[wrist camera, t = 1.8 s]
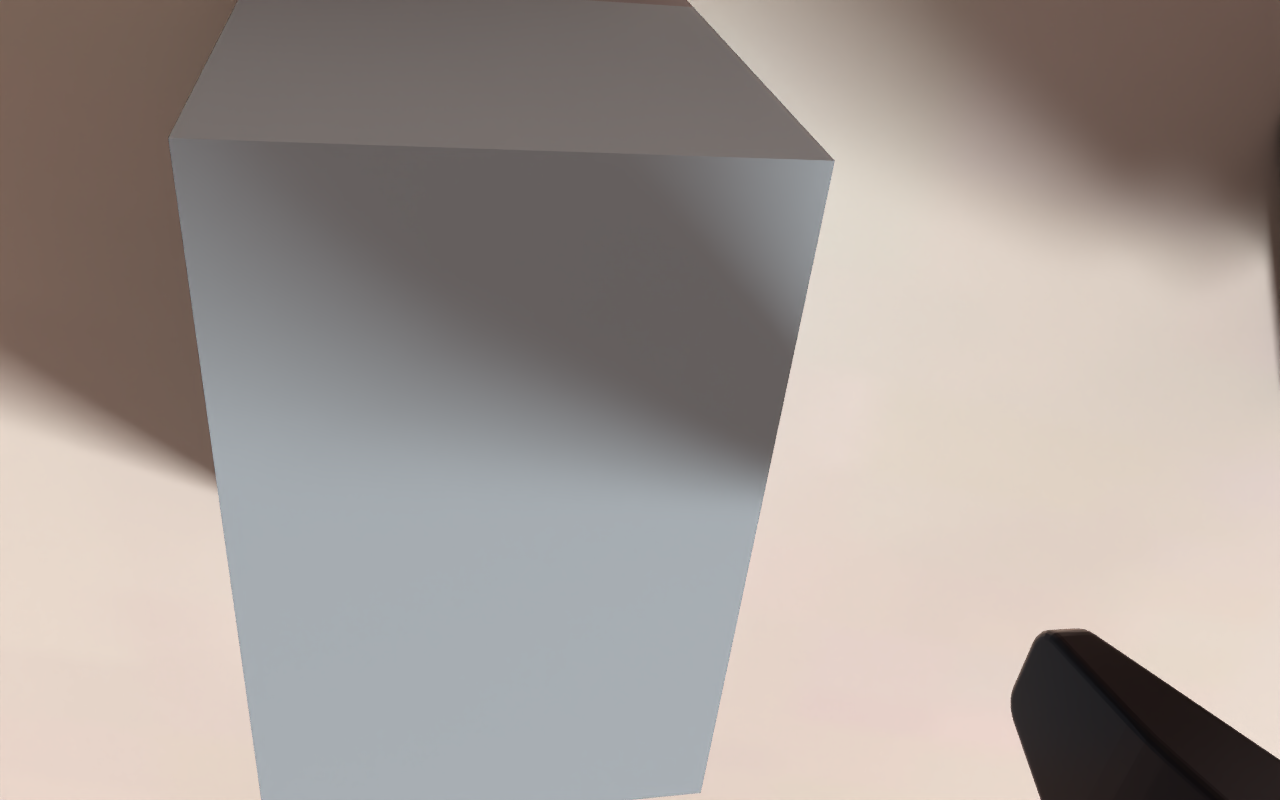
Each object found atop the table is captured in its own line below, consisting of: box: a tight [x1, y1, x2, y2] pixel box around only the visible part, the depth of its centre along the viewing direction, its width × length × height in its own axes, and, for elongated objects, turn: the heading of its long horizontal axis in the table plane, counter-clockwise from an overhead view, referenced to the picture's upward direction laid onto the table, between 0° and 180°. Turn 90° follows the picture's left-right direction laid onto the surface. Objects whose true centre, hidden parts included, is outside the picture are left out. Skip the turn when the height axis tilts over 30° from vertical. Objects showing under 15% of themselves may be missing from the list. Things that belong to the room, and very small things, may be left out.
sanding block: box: [168, 0, 834, 800], centre depth 12 cm, size 8×5×6 cm, turn 174°
